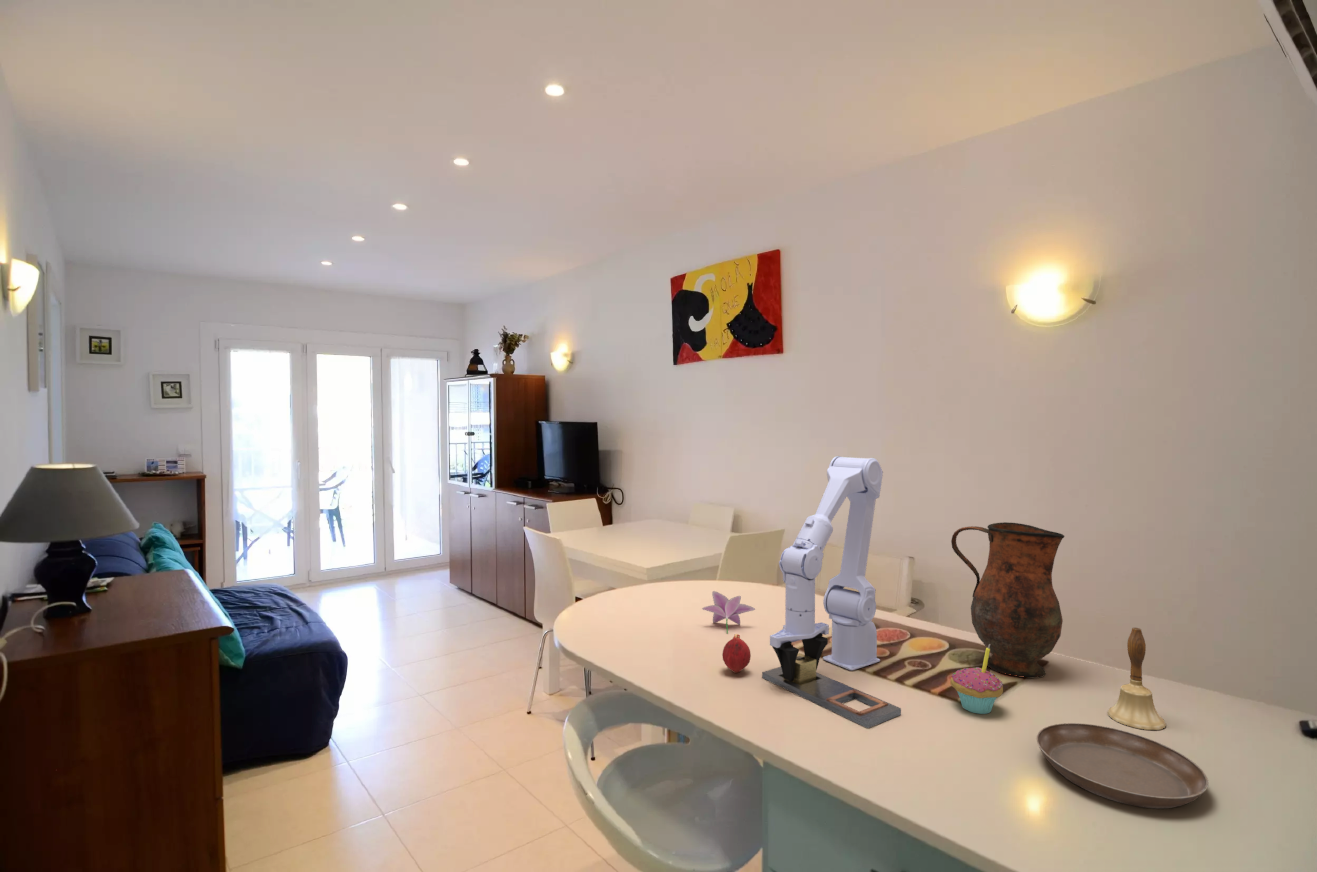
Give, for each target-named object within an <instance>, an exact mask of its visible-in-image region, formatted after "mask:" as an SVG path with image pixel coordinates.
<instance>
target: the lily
mask: <svg viewBox="0 0 1317 872" xmlns="http://www.w3.org/2000/svg"><path fill="white" fill-rule="evenodd" d="M711 595H712V596H711V597H712V601H713V604H714V605H713V604H712V605H711V604H710V605H707V606H704V607H702V608H701V610H703V611H705V612H710V613H713V614H712V615H713V616H712V623H713V624H714V623H715V624H716V623H718V622H720V621H723V620H726V621H725V622H726V623H725V625H726V626H725V627H726V634H729V632H728V631H729V629H728V620H729V621H732V623H735V624H737V625H738V626H739V625H741V616H740V615H741V614H745V613H749V612H753V611H755V610H756V608H755V607H753V606H752V605H748V604H745V603H741V598H742V595H737V596H734V597H732V598H730V599H729V598H728V597H727V596H725V595H724V594H722V593H720V592H718V591H715V590H713V591H712V592H711Z"/></svg>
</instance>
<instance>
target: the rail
mask: <svg viewBox="0 0 1317 872" xmlns="http://www.w3.org/2000/svg"><path fill="white" fill-rule="evenodd" d="M761 676H762V677H761V678H762V679H764V680H766V681H768V682H770V683H772V684H774V685H776V686H778V687H781V689H784V690H787V691H789V692H791V693H793V694H795V695H797V696H799V697H801V698H803V699H806V700H808V701H810V702H812V703H814V704H816V705H818V706H820V707H822V708H824V709H826V710H829V711H830V712H832V713H834V714H837V715H838V716H841V717H842V718H845V719H847V720H848V721H851V722H853V723H855V724H858V725H859V726H861V727H864V728H866V729H869V728H872V727H875V726H877V725H880V724H882V723H884V722H887V721H889V720H892V719H894V718H897V717H899V716H902V715H901V714H902V708H901V707H899V706H896V705H895V704H892V703H890V702H887V701H885V700H882V699H881V698H878V697H875V696H873V695H871V694H868V693H866V692H864V691H862V690H859V689H857V688H854V687H852V686H850V685H847V684H845V683H842V682H840V681H838V680H836V679H833V678H831V677H828V676H826V675H823V674H821V673H819V672H817V671H816V681H812V682H809V683H806V684H803V685H798V684H796V683H794V682H792V681H789V680H787V679H784V678H783V672H782V668H781V666H778V667H774V668H772V669H768V670H764V671H762V672H761ZM853 700H856V701H858V702H860V703H862V704H865V705H867V706H869V707H868V708H866V709H862V710H856V709H855V708H852V707H850V706H849V705H846V704H844V703H848V702H849V701H853Z"/></svg>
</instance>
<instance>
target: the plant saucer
mask: <svg viewBox="0 0 1317 872" xmlns="http://www.w3.org/2000/svg"><path fill="white" fill-rule="evenodd" d="M1036 734H1037V735H1036V738H1035V739H1036V743H1037V746H1038V748H1039V749H1040V751H1041V753H1042V754H1043V756H1044V757H1045V759H1046V760H1047V761H1048V762H1049V764H1050V765H1051V767H1053V768H1054V769H1055V770H1056V771H1057V772H1058V773H1059V774H1061V776H1063V777H1064V778H1065V779H1066V780H1067V781H1070V782H1071V783H1073V784H1074V785H1076V786H1078V787H1080V788H1082V790H1085V791H1086V792H1087V791H1088V792H1090V793H1091V794H1093V795H1095V796H1096V795H1097V796H1099V797H1102V798H1104V799H1107V800H1110V801H1113V802H1116V803H1121V804H1124V805H1128V806H1133V807H1134V806H1135V807H1139V808H1148V809H1171V808H1178V807H1181V806H1184V805H1187V804H1189V803H1192V802H1194V801H1195V800H1198V798H1199V797H1201V796H1202V795H1203V794H1204V793H1205V792H1206V790H1208V787H1209V779H1208V776H1207V774H1206V773H1205V771H1204V770H1203V769H1202V768H1201V767H1200V766H1199V765H1197V764H1196V763H1195V761H1193V760H1192V759H1190V758H1189V757H1187V756H1186V755H1184V754H1182V753H1180V752H1179V751H1177V750H1175V749H1173V748H1171V747H1170V746H1168V745H1164V744H1163V743H1160V742H1157V741H1155V740H1153V739H1150V738H1147V737H1145V736H1142V735H1139V734H1135V733H1133V732H1129V731H1125V730H1122V729H1117V728H1114V727H1108V726H1103V725H1097V724H1089V723H1076V722H1074V723H1073V722H1070V723H1069V722H1068V723H1064V722H1063V723H1056V724H1051V725H1048V726H1045V727H1044V728H1042V729H1040V730H1039V731H1038V732H1037V733H1036Z"/></svg>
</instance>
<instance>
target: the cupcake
mask: <svg viewBox="0 0 1317 872" xmlns="http://www.w3.org/2000/svg"><path fill="white" fill-rule="evenodd" d="M989 647H990V644H989V646H988V648H987V647H986V648H985V653H984V657H983V662H982V667H975V666H973V667H969V668H968V667H965V668H960V669H958V670H956V671H955V672H953V673H952V674H951V677H950V680H949V681H950V685H951V687H952V688H954V689H955V691H957V695H958V696H959V700H960V704H961V707H962V708H963V709H964V710H966V711H968V712H970V713H972V714H973V713H974V714H980V715H986V714H989V713H991V712H992V710H993V706H994V704H995V701H996V700H997V698H999V697H1001V696H1002V695H1003V693H1004V684H1003V681H1002V680H1001V679H1000V678H998V676H997V675H995V674H994V673H993V672H991V671H988V670H987V668H988V667H987V663H988V658H989V657H990V653H991V652H990V649H989Z"/></svg>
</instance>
